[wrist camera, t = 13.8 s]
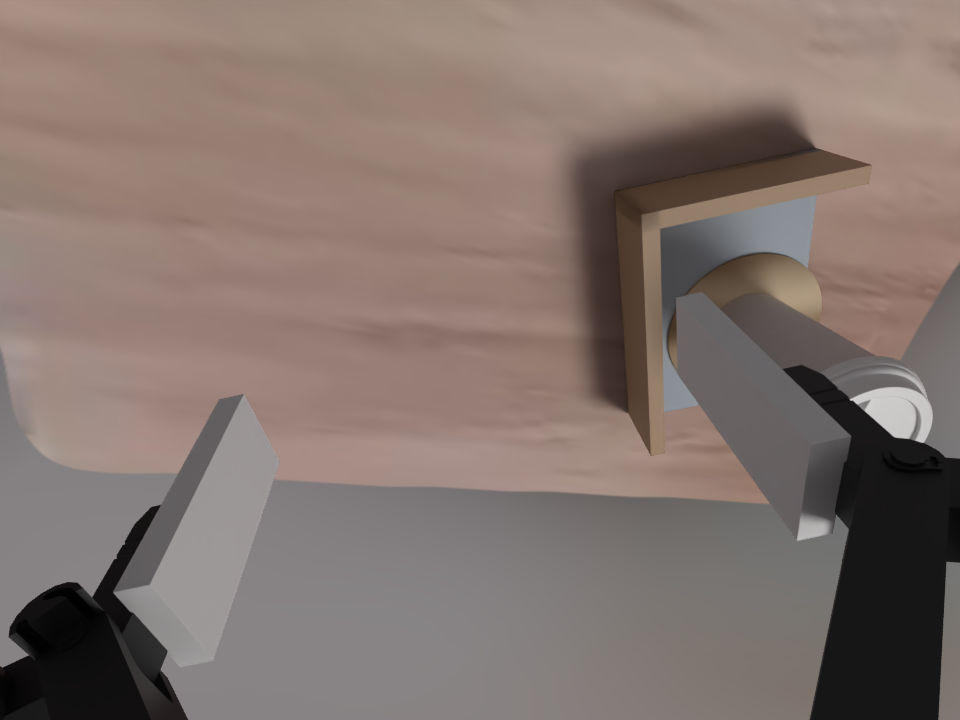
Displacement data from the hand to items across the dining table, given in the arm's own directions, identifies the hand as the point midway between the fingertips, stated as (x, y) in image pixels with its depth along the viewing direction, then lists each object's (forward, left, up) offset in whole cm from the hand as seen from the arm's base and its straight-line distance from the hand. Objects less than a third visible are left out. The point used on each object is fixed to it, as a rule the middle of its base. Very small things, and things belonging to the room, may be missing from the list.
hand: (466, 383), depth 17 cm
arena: (+14, +20, -27) cm, 36 cm away
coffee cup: (+17, +22, -26) cm, 38 cm away
